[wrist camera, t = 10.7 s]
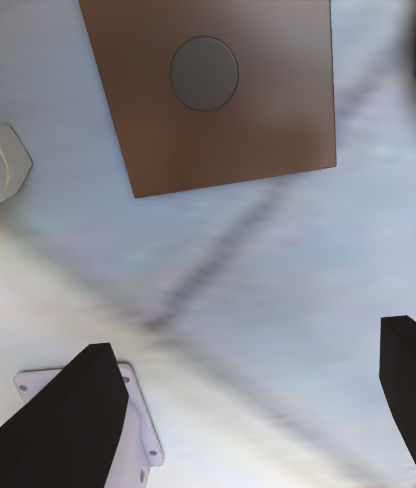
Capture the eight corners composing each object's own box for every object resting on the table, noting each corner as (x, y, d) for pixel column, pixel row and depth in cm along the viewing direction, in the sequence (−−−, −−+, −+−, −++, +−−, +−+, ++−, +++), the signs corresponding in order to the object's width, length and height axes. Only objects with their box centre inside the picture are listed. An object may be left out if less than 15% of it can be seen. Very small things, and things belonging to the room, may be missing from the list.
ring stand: (330, 160, 17) (369, 200, 12) (141, 190, 18) (103, 238, 13) (319, -94, 13) (370, -195, 8) (80, -31, 14) (-6, -83, 9)
